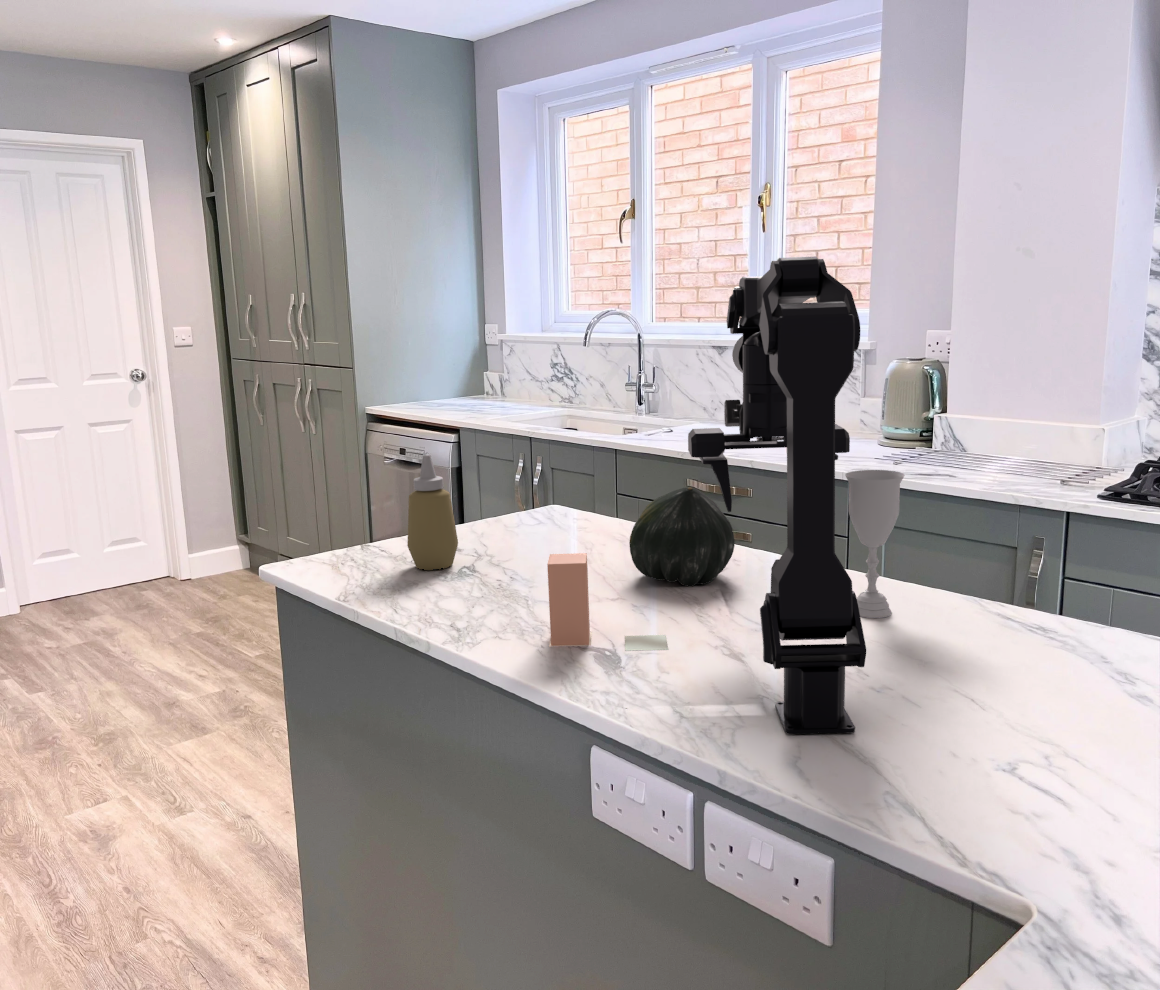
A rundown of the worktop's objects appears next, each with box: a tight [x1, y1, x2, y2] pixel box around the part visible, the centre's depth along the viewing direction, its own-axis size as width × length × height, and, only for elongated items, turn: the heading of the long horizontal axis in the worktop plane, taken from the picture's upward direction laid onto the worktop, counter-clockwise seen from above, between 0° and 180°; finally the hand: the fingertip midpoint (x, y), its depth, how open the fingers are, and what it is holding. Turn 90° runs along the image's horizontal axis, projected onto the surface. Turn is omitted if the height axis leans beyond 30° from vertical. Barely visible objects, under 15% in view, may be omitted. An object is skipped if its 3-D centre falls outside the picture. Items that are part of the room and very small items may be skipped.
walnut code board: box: [548, 630, 669, 652], centre depth 114 cm, size 8×14×1 cm, turn 88°
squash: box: [629, 486, 736, 587], centre depth 139 cm, size 14×15×15 cm
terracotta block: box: [546, 552, 591, 646], centre depth 115 cm, size 4×4×10 cm
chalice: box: [845, 469, 905, 619], centre depth 122 cm, size 7×7×18 cm
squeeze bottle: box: [407, 454, 459, 571], centre depth 152 cm, size 8×8×18 cm
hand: (766, 510), depth 118 cm, fingers open, 9 cm apart
